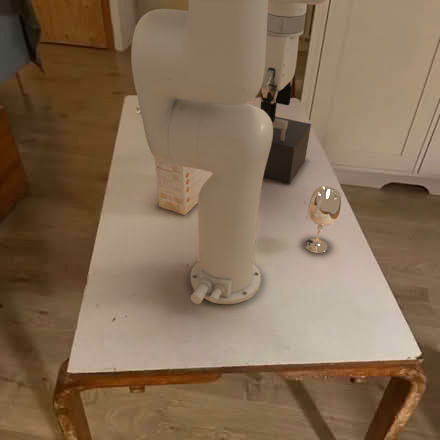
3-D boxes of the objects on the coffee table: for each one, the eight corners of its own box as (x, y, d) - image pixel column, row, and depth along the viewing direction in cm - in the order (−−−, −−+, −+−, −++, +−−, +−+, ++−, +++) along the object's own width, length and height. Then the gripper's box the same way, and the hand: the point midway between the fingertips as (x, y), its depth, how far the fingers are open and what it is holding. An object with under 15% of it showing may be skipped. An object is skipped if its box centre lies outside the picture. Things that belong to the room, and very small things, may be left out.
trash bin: (289, 184, 105) (294, 149, 98) (243, 172, 108) (245, 138, 102) (305, 160, 113) (310, 127, 107) (262, 150, 116) (265, 117, 110)
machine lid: (293, 150, 98) (296, 127, 94) (244, 139, 101) (246, 116, 98) (310, 127, 107) (314, 104, 103) (265, 117, 110) (267, 95, 106)
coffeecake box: (192, 176, 106) (190, 92, 93) (218, 184, 104) (220, 99, 90) (157, 206, 97) (149, 118, 83) (185, 216, 94) (181, 127, 81)
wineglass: (330, 257, 86) (343, 204, 77) (300, 252, 86) (310, 200, 78) (331, 239, 90) (343, 187, 81) (302, 235, 91) (312, 183, 82)
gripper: (280, 10, 91) (272, 94, 103) (248, 32, 80) (243, 124, 92) (316, 14, 89) (303, 101, 101) (288, 38, 78) (277, 131, 90)
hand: (275, 112), depth 96 cm, fingers open, 9 cm apart
